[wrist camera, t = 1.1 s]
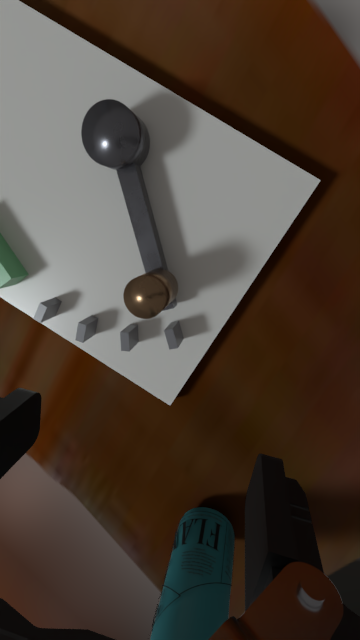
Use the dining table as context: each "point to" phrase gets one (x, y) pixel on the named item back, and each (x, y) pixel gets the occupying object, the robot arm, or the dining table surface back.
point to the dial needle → (132, 200)
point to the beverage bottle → (197, 578)
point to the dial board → (111, 211)
